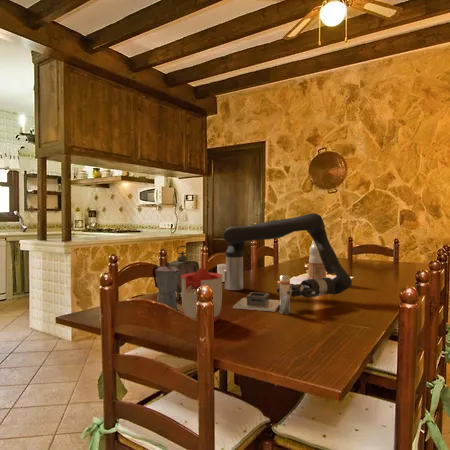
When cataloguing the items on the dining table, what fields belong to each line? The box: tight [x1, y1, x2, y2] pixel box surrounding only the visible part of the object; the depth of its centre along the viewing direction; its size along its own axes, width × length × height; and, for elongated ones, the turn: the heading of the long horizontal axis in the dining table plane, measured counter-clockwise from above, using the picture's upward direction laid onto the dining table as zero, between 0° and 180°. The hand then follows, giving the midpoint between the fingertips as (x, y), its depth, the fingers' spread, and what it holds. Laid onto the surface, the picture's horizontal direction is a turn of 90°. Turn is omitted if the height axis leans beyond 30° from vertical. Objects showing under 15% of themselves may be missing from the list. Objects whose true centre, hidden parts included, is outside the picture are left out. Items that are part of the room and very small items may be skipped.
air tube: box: [279, 274, 291, 316], centre depth 145 cm, size 4×4×15 cm
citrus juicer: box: [181, 267, 223, 323], centre depth 135 cm, size 16×17×20 cm
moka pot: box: [151, 262, 179, 311], centre depth 151 cm, size 10×15×20 cm, turn 58°
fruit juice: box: [308, 239, 327, 279], centre depth 208 cm, size 9×9×28 cm
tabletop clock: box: [168, 245, 200, 301], centre depth 173 cm, size 14×9×25 cm, turn 137°
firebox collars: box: [232, 291, 280, 313], centre depth 158 cm, size 18×16×5 cm
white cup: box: [216, 263, 226, 282], centre depth 214 cm, size 8×8×10 cm
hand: (284, 292), depth 145 cm, fingers open, 8 cm apart
